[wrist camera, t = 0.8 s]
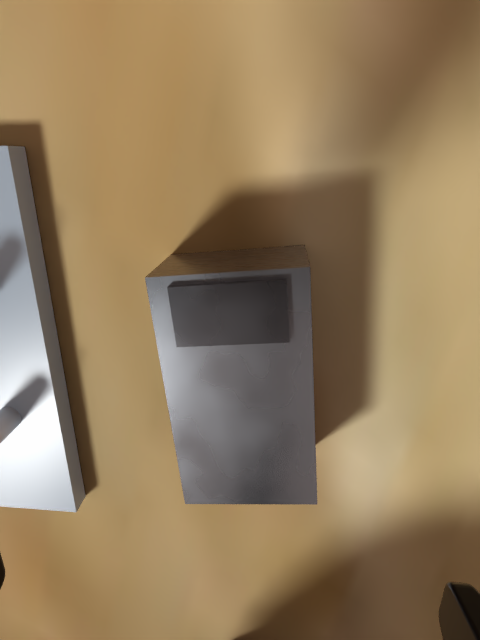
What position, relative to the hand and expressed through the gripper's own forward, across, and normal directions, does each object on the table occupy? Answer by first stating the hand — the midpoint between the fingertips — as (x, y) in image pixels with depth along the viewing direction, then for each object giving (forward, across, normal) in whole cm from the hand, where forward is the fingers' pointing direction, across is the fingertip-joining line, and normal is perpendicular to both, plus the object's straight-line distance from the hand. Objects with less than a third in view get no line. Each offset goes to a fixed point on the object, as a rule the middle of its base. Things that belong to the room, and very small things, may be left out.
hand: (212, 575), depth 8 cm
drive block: (+10, 0, 0) cm, 10 cm away
